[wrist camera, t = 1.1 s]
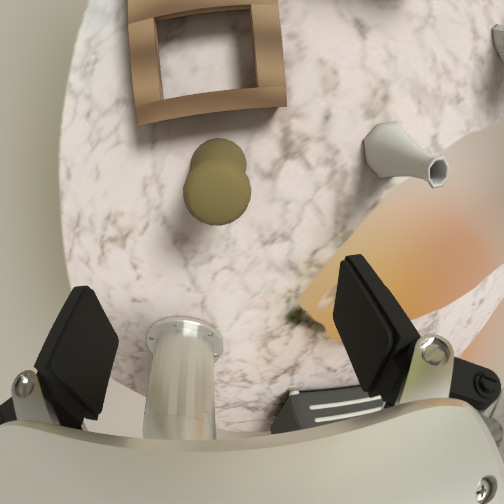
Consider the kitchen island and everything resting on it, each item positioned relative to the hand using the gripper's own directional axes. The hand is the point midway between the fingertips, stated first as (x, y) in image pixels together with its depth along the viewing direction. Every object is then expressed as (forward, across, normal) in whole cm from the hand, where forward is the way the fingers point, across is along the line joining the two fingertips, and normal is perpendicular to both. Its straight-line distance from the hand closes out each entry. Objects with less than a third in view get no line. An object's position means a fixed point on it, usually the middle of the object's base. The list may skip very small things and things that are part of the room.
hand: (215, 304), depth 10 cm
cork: (+22, 0, 0) cm, 22 cm away
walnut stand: (+22, 0, -17) cm, 28 cm away
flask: (+22, -20, -1) cm, 30 cm away
